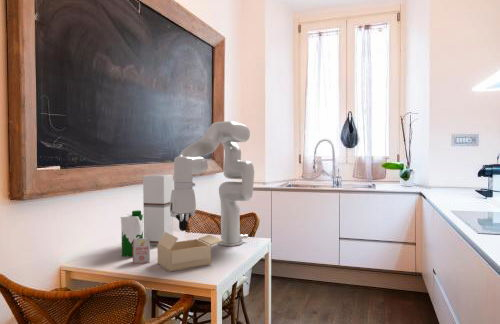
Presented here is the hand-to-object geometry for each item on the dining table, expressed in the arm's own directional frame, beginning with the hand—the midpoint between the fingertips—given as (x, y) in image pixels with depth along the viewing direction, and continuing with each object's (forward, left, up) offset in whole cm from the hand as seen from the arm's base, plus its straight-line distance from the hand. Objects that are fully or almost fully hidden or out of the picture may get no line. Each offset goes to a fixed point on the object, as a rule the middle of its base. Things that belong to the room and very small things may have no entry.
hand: (183, 230), depth 160 cm
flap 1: (+9, 0, -6) cm, 11 cm away
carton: (0, 0, -14) cm, 14 cm away
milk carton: (+14, -27, -14) cm, 34 cm away
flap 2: (-9, 0, -6) cm, 11 cm away
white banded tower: (-4, -43, -14) cm, 46 cm away
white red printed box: (+14, -13, -15) cm, 24 cm away
